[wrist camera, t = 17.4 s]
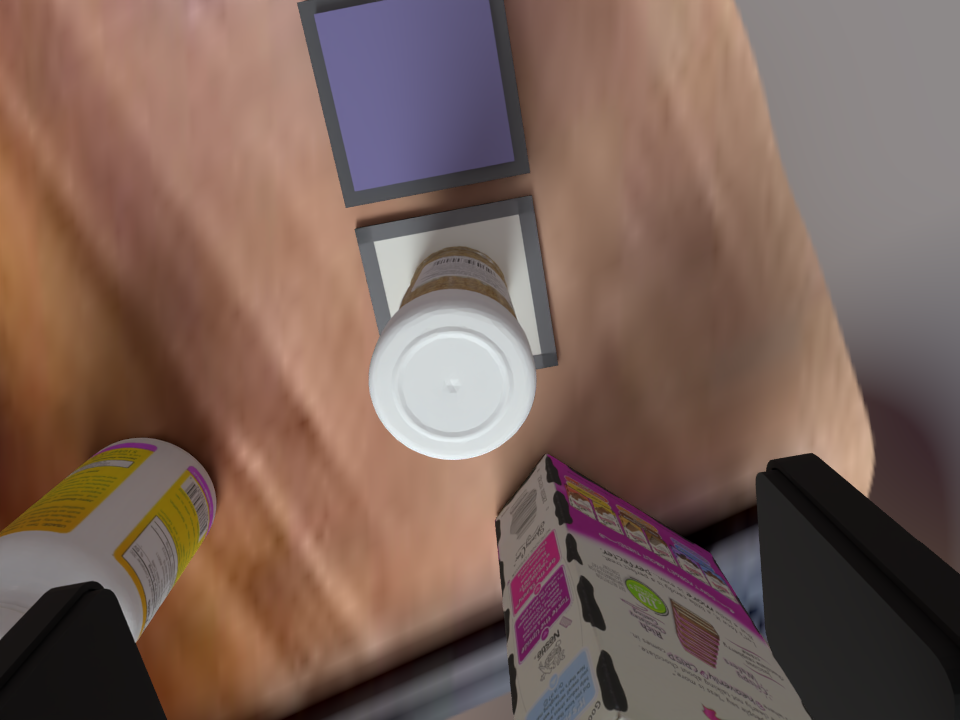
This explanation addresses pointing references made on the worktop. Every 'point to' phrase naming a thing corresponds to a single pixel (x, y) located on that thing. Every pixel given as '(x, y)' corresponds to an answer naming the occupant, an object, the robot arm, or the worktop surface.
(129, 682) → the robot arm
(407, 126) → the ink pad
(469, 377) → the sprinkles bottle
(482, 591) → the worktop surface
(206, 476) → the supplement bottle
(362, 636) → the worktop surface
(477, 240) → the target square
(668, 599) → the candy bar box
